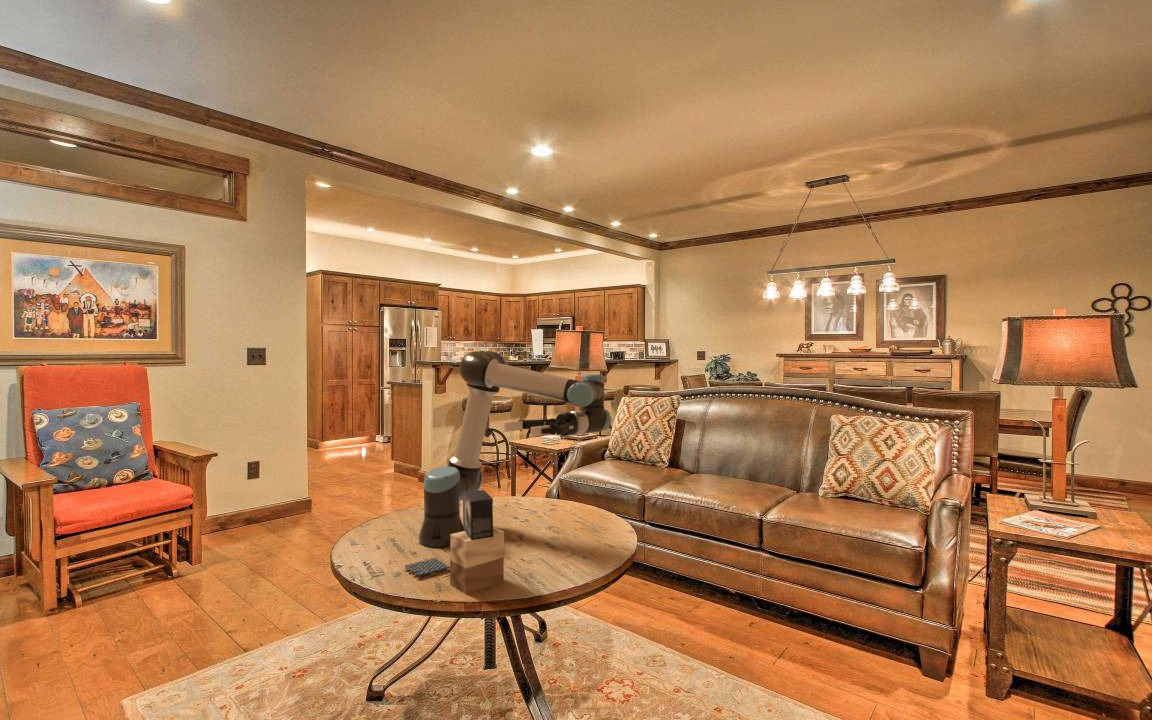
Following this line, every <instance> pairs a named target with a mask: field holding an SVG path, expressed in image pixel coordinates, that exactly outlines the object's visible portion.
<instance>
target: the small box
mask: <svg viewBox="0 0 1152 720" xmlns="http://www.w3.org/2000/svg"><path fill="white" fill-rule="evenodd" d="M493 504H494V498H493V497H491V495H490V494H488V493H487V491H485V490H484V489H478V490H477V491H469V492H463V500H462V521H463V522H462V524H463V529H464V530H465V532H466V533H467V534H468V536H469V537H470V539H471V540H475V539H483V538H490V537H493V527H494V513H493V511H494V509H493V507H494V506H493Z"/></svg>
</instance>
